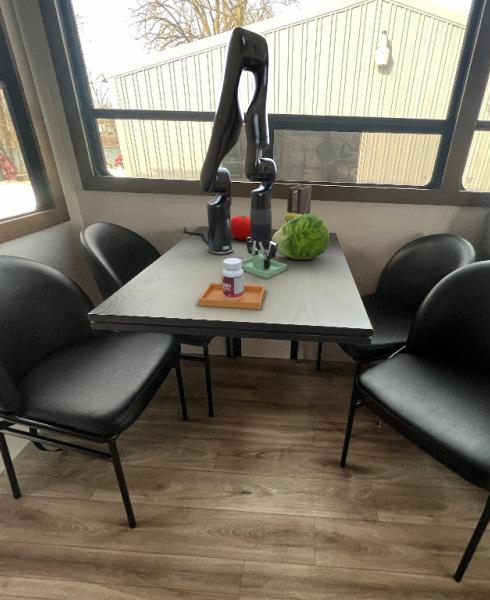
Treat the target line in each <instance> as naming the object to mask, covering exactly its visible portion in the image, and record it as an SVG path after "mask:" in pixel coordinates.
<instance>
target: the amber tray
mask: <svg viewBox="0 0 490 600" xmlns="http://www.w3.org/2000/svg"><path fill="white" fill-rule="evenodd" d="M265 294H266V285H256V284H244V296H243V298H241V299H239V300H227V299H225V298H224V296H223V284H222V282H221V283H220V282H209V283H208V285H207V286H206V288H205V289H204V290H203V291H202V293H201V295H200V296H199V297H198V298H197V302H198V306H202V307H204V306H205V307H218V308H220V307H221V308H235V309H249V310H261V307H262V305H263V301H264V297H265Z"/></svg>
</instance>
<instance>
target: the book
mask: <svg viewBox="0 0 490 600" xmlns="http://www.w3.org/2000/svg"><path fill="white" fill-rule="evenodd" d="M312 191H313V187H312V185H310V184H298V185H294V186H291V187H288V188H287V206H286V207H287V208H286V212H285V213H284V221H286V223H287V222H288V221H290V220H291V219H293V218H295V217H297V216H300V215H304V214H311V204H312V203H311V202H312Z"/></svg>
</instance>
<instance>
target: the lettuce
mask: <svg viewBox="0 0 490 600" xmlns="http://www.w3.org/2000/svg"><path fill="white" fill-rule="evenodd" d="M271 236H272V237H271V241H272V242H273V243H277V244H278V247H277V251H276V253H277V254H279V255H281V256H283V257H286V258H288V259H291V260H296V261H309V260H313V259H314V258H316V257H318V256H320V255H322V254H324V253H325V252H326V250H327V249H328V247H329V244H330V231H329V227H328V225H327V223H326V221H325V220H324V218H322V217H321V216H319V215H317V214H314V213H310V214H304V215H300V216H297V217H295V218H293V219H291V220H290V221H288V222H287V221H286V222H285V223H284V225H282V226H281V228H279V229H278V230H276V232H275V233H274V234H273V235H271Z"/></svg>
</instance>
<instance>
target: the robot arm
mask: <svg viewBox="0 0 490 600" xmlns="http://www.w3.org/2000/svg"><path fill="white" fill-rule="evenodd" d="M269 47H270V46H269V43H268V41H267V38H266V37H265V36H264V35H262V34H261V33H258V32H256V31H253V30H251V29H248V28H246V27H243V26H235V27H233V28H232V29H231V31H230V33H229V35H228V39H227V44H226V49H225V56H224V63H223V64H224V65H223V72H222V79H221V87H220V91H219V97H218V101H217V106H216V110H215V115H214V118H213V124H212V130H211V135H210V138H209V143H208V147H207V151H206V155H205V157H204V161H203V163H202V167H201V171H200V175H199V185H200V188H201V190H202V191H203V193H206V194H216V195H215V197H214V198H213V199H211V200H209V202H207V203H206V210H207V211H206V213H207V224H208V228H207V229H206V232H207V238H206V234H205V233H203V232H198V231H187V226H184V227H183V231H184V233H186V234H189V235H199V236H202V237H203V240H204V241H205V243H206V244H208V251H209V252H210V253H211V254H214V255H228V254H231V253H232V252H233V238H232V237H233V236H232V234H231V220H232V217H231V215H232V213H231V206H232V200H233V199H232V195H233V194H232V193H233V191H232V190H233V189H232V188H233V187H232V185H233V183H232V176H231V173H230V171H229V170H228V168H226V167H221V164H222V162H223V160H224V159H225V158H226V157H227V156H228V154H229V153H230V152H231V151H232V150H233V149H234V148H235V146H236V145H237V143H238V142H239V139H240V136H241V133H242V130H243V126H244V127H245V136H246V150H245V157H244V165H243V166H244V167H243V168H244V169H243V171H244V175H245V177H246V179H247V180H248V181H249V182H252V183H260V185H259V187H257V188H255V189H253V190H251V191H250V212H249V213H250V214H249V217H250V231H251V235H252V236H251V237H247V238H245V240H244V241H245V244H246V250H247V253H248V255H251V257H253V256H255V255H258V254H260V252H261V254H263V255H264V259H265V260H264V269H269V267H270V260H273V259H275V258H276V254H277V252H276V251H277V247H278V244H277V243H273V242H272V237H271V236H272V234H273V232H272V231H273V213H272V212H273V211H272V196H273V191H274V188H275V184H276V180H277V176H278V175H277V174H278V169H277V165H276V162H275V161H274V160H273V159H272V158H269V157H268V158H267V157H265V158H263V157H261V158H260V153H261V151H266V150H267V149H269V147H270V135H269V133H270V132H269V121H268V95H269V79H270V78H269V76H270V48H269ZM243 71H244V72H248V73H251V78H252V93H251V97H250V100H249V103H248V106H247V108H246V111H245V115H244V111H243V107H242V102H241V97H240V85H241V79H242V74H243ZM244 116H245V118H244ZM244 122H245V123H244Z"/></svg>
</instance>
